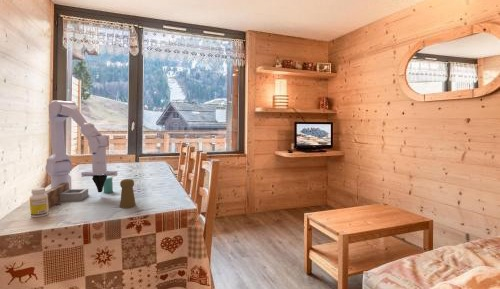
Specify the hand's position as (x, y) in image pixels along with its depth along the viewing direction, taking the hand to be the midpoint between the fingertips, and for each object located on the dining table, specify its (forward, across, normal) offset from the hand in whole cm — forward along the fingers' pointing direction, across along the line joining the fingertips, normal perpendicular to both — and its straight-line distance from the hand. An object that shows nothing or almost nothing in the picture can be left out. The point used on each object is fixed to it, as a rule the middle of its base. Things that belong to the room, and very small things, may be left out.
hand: (100, 191), depth 133 cm
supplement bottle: (+3, -14, -24) cm, 28 cm away
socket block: (+3, -11, 0) cm, 11 cm away
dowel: (+2, +1, +9) cm, 9 cm away
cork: (+2, +15, -18) cm, 24 cm away
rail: (+2, -16, -5) cm, 17 cm away
